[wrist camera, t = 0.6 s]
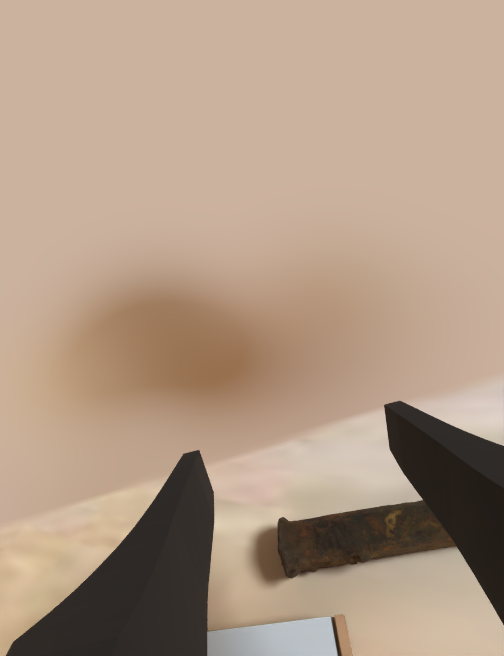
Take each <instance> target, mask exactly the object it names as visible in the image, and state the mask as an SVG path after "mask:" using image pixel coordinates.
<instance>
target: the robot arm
mask: <svg viewBox="0 0 504 656" xmlns="http://www.w3.org/2000/svg"><path fill="white" fill-rule="evenodd" d="M384 408H385V415H386V423H387V431H388V439H389V447H390V450H391V452H392V454H393V456H394V458H395V459H396V461H397V463H398V465H399V466H400V468H401V470H402V471H403V473H404V475H405V476H406V477H407V479H408V480H409V481H410V483H411V484H412V485H413V487H414V488H415V489H416V491H417V492H418V494H419V495H420V496H421V498H422V499H423V500H424V502H425V503H426V504H427V506H428V507H429V508H430V510H431V511H432V512H433V514H434V515H435V516H436V518H437V519H438V520H439V522H440V523H441V524H442V526H443V527H444V528H445V530H446V531H447V533H448V534H449V535H450V537H451V538H452V540H453V541H454V543H455V544H456V546H457V548H458V549H459V551H460V552H461V554H462V556H463V557H464V559H465V560H466V562H467V564H468V565H469V567H470V569H471V570H472V572H473V573H474V575H475V577H476V578H477V580H478V582H479V583H480V585H481V587H482V589H483V590H484V592H485V594H486V595H487V597H488V599H489V600H490V602H491V604H492V605H493V607H494V609H495V611H496V612H497V614H498V616H499V618H500V619H501V621H502V623H503V625H504V446H502V445H499V444H496V443H494V442H491V441H488V440H485V439H483V438H480V437H478V436H475V435H473V434H470V433H468V432H466V431H463V430H461V429H459V428H456V427H454V426H452V425H450V424H447V423H445V422H443V421H441V420H439V419H437V418H435V417H433V416H430V415H428V414H426V413H424V412H422V411H420V410H418V409H416V408H414V407H412V406H410V405H408V404H406V403H404V402H401V401H397V402H393V403H389V404H386V405H384ZM213 529H214V492H213V489H212V486H211V483H210V480H209V477H208V474H207V471H206V469H205V466H204V463H203V460H202V457H201V454H200V451H199V450H197V451H193V452H189V453H185V454H183V456H182V457H181V459H180V460H179V462H178V463H177V465H176V467H175V468H174V470H173V471H172V473H171V475H170V476H169V478H168V479H167V481H166V483H165V484H164V486H163V487H162V489H161V490H160V492H159V493H158V495H157V496H156V498H155V499H154V501H153V502H152V504H151V505H150V506H149V508H148V509H147V511H146V512H145V513H144V515H143V516H142V518H141V519H140V520H139V522H138V523H137V524H136V525H135V527H134V528H133V529H132V530H131V532H130V533H129V534H128V535H127V536H126V538H125V539H124V540H123V541H122V542H121V543H120V545H119V546H118V547H117V548H116V549H115V550H114V551H113V552H112V553H111V554H110V555H109V557H108V558H107V559H106V560H105V561H104V562H103V563H102V564H101V565H100V566H99V567H98V568H97V569H96V570H95V571H94V572H93V573H92V574H91V575H90V576H89V577H88V578H87V579H86V580H85V581H84V582H83V583H82V584H81V585H80V586H79V587H78V588H77V589H76V590H75V591H73V592H72V593H71V594H70V595H69V596H68V597H67V598H66V599H65V600H63V601H62V602H61V603H60V604H59V605H58V606H57V607H55V608H54V609H53V610H52V611H51V612H50V613H48V614H47V615H46V616H45V617H43V618H42V619H41V620H40V621H39V622H37V623H36V624H35V625H34V626H32V627H31V628H30V629H29V630H28V631H26V632H25V633H24V634H23V635H21V636H20V637H19V638H18V639H16V640H15V641H14V642H13V644H12V645H11V647H10V649H9V651H8V653H7V655H6V656H207V601H208V584H209V573H210V562H211V551H212V541H213Z"/></svg>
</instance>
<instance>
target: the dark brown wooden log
mask: <svg viewBox="0 0 504 656" xmlns="http://www.w3.org/2000/svg"><path fill="white" fill-rule="evenodd" d="M450 546H456V544H455V543H454V541H453V540H452V538H451V537H450V535H449V534H448V533H447V531H446V530H445V528H444V527H443V526H442V524H441V523H440V522H439V520H438V519H437V518H436V516H435V515H434V514H433V512H432V511H431V510H430V508H429V507H428V506H427V504H426V503H425V502H424V500H422V501H418V502H410V503H402V504H396V505H387V506H380V507H375V508H368V509H362V510H356V511H350V512H344V513H338V514H331V515H326V516H321V517H316V518H311V519H305V520H299V521H288V520H287V519H286V518H284V517H282V518H280V519H279V521H278V552H279V555H280V557H281V561H282V565H283V567H284V570H285V574H286V576H287V577H289V578H293V577H295V576H296V575H298V573H299V572H300V571H301V570H304V571H309V572H316V571H317V569H318V568H319V567H332V566H338V567H339V566H343V565H346V564H351V565H352V564H357V561H359V562H366V561H368V560H373V559H380V558H384V557H390V556H396V555H402V554H407V553H413V552H418V551H427V550H433V549H438V548H444V547H450Z"/></svg>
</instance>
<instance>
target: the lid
mask: <svg viewBox="0 0 504 656" xmlns="http://www.w3.org/2000/svg"><path fill="white" fill-rule="evenodd" d="M207 656H339V653H338V647H337V642H336V636H335V631H334V625H333V620H332V617H331V616H330V617H321V618H313V619H305V620H297V621H289V622H281V623H273V624H265V625H257V626H249V627H241V628H233V629H225V630H217V631H209V632H207Z"/></svg>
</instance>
